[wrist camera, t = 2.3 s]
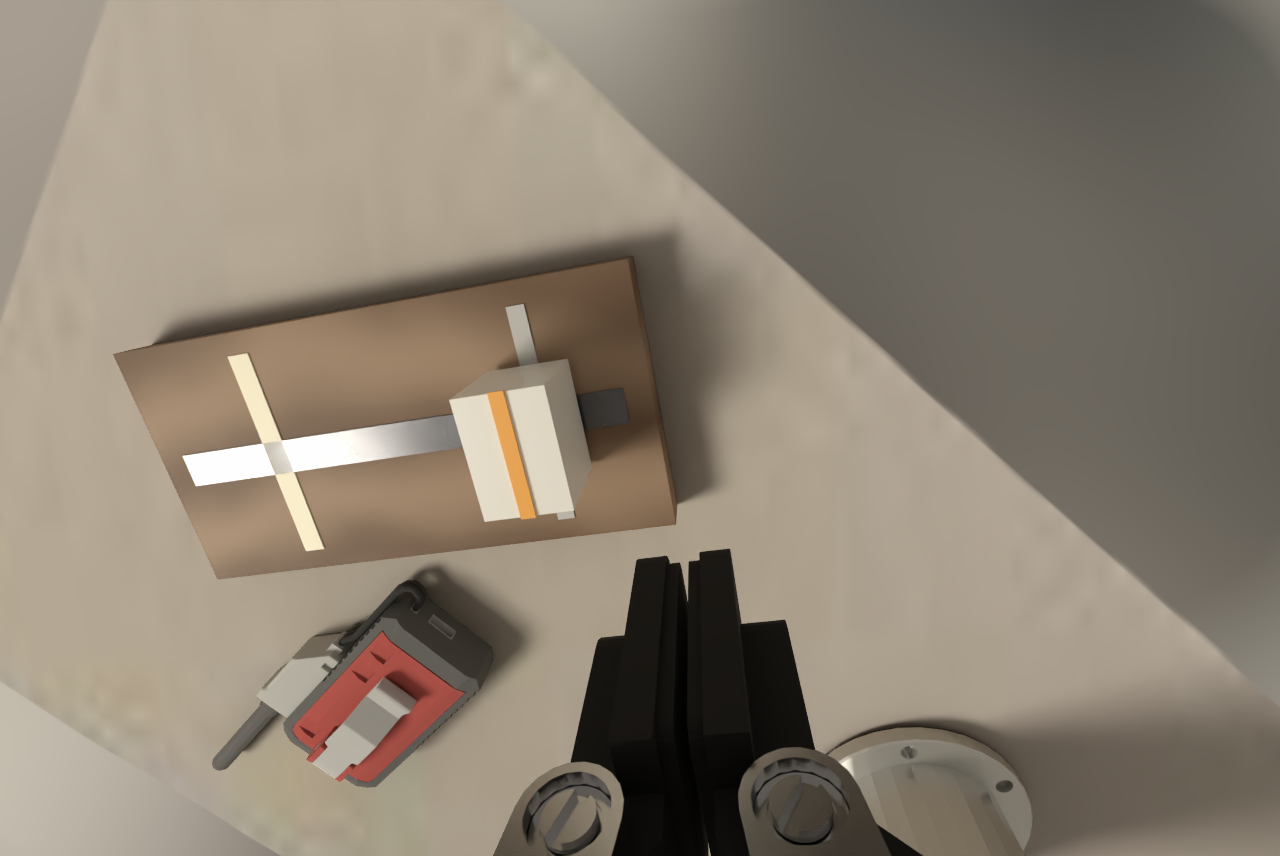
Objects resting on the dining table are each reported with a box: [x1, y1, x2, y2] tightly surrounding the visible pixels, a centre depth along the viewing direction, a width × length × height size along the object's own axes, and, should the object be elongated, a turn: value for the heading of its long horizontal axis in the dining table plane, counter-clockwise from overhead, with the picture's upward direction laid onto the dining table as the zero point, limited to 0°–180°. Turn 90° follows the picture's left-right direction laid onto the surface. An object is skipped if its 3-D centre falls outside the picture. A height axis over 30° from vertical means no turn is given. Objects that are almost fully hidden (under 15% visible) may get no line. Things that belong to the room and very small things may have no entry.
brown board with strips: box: [113, 256, 677, 579], centre depth 29 cm, size 12×24×2 cm, turn 100°
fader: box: [449, 359, 592, 522], centre depth 24 cm, size 5×4×4 cm
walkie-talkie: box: [212, 580, 493, 788], centre depth 34 cm, size 9×4×20 cm
